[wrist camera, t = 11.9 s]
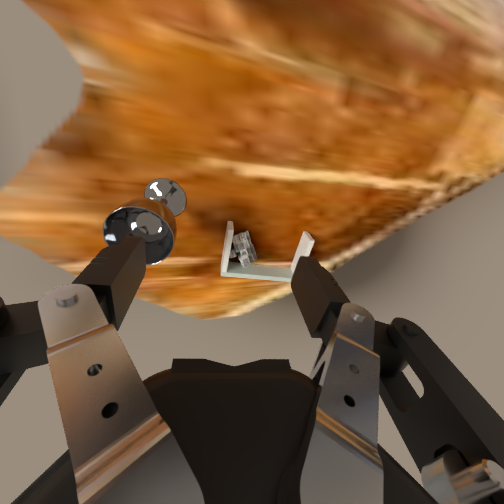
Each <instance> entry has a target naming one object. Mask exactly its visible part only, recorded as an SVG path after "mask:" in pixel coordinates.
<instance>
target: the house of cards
mask: <svg viewBox="0 0 504 504" xmlns="http://www.w3.org/2000/svg"><path fill="white" fill-rule="evenodd" d="M239 233H240V232H239ZM239 233H238V234H236V235H233V238H232V242H233V244H234V247H233V248H231V250H230V258H233V257H236V256H237V252H238V256H239V260H240V262H241V265H243V266H244V268H245V267H248V266H250V265H251V264H250V263H251V262H253V261H254V260H257V259H258V257H257V256H256V252H255V249H254V246H253V244H252V243H251V241H250V236H249V233H248V230H247V231H244V232H241V233H240V234H239ZM235 250H236V251H235Z"/></svg>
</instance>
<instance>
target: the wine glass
mask: <svg viewBox="0 0 504 504" xmlns="http://www.w3.org/2000/svg"><path fill="white" fill-rule="evenodd" d="M185 206H186V196H185V193H184V191H183V189H182V188H181V187H180V186H179V185H178V184H177V183H175V182H174V181H171V180H169V179H163V178H162V179H155V180H153V181H151V182H150V183H149V184H148V185H147V187H146V189H145V192H144V198H137V199H133V200H131V201H128V202H126V203H124V204H122V205H121V206H119V207H118V208H117V209H115V210H114V211H113V212H112V213H111V214H110V215H109V216H108V217H107V218H106V220H105V222H104V225H103V237H104V240H105V242H106V244H107V246H110V245H112V244H113V245H118V244H119V243H120V242H121V240H122V239H123V238H124V237H125V236H126V235H127V236H136V237H143V238H144V240H145V253H146V265H153V264H157V263H159V262H161V261H163V260H164V259H166V258H167V257H168V256H169V254H170V253H171V251H172V249H173V246H174V243H175V240H176V235H177V224H176V219H175V216H178V215H179V214H181V213H182V212H183V210H184V209H185Z"/></svg>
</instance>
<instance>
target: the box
mask: <svg viewBox="0 0 504 504" xmlns="http://www.w3.org/2000/svg"><path fill="white" fill-rule="evenodd" d="M233 233H234V227H233V221H228V222H227V229H226V235H225V241H224V248H223V254H222V260H221V276H228V277H239V278H251V279H263V280H274V281H286V282H291V279H292V276H293V273H294V270H295V268H296V265H297V262H298V260H299V258H300V256H308V257H309V254H310V252H311V249H312V247H313V244H314V242H315V241H314V239H313V238H312V237H311V235H310V234H309V233H308V232H305V231H303V234H302V237H301V240H300V243H299V245H298V248H297V251H296V254H295V257H294V259H293V262H292V265H291V268H287V267H277V266H267V265H257V264H251V265H250V266H248V267H245V268H244V266H243V265H241V263H237V262H228V261H229V255H230V250H231V244H232V238H233Z"/></svg>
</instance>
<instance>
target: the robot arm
mask: <svg viewBox="0 0 504 504" xmlns="http://www.w3.org/2000/svg"><path fill="white" fill-rule="evenodd" d="M145 271H146V253H145V240H144V238H143V237H136V236H127V235H126V236H125V237H124V238H123V239H122V240H121V242H120V243H119V244H118V245H113V244H112V245H110V246H108V247H106V248H104V249H102V250H101V251H100V252H99V253H98V254H97V256H96V258H94V259H93V260H92V261H91V262H90V264H89V265H88V266H87V267H86V268H85V269H84V270H83V271H82V272H81V273H80V275H79V276H78V277H77V278H76V279H75V280H74V281H73V282H72V284H67V285H63V286H59V287H56V288H54V289H52V290H50V291H48V292H47V293H45V294H44V295H43V296H42V297H41V298H40V299H39V301H34V302H27V303H19V304H12V305H5V304H4V301H3V299H2V298H1V297H0V406H1V405H2V403H3V402H4V400H5V399H6V397H7V396H8V395H9V393H10V392H11V390H12V389H13V387H14V386H15V385H16V383H17V382H18V380H19V379H20V377H21V376H22V374H23V373H24V372H25V370H26V369H28V368H31V367H35V366H40V365H44V364H48V363H49V366H50V370H51V374H52V379H53V383H54V388H55V392H56V397H57V401H58V405H59V410H60V414H61V418H62V422H63V427H64V431H65V435H66V440H67V444H68V448H69V449H68V450H67V451H66V452H65V453H64V454H63V455H62V456H61V457H60V458H59V459H58V460H56V461H55V462H54V463H53V464H52V465H51V466H50V467H49V468H48V469H47V470H46V471H45V472H44V473H43V474H42V475H41V476H40V477H39V478H37V479H36V480H35V481H34V482H33V483H32V484H31V485H30V486H29V487H28V488H27V489H26V490H25V491H24V492H23V493H22V494H21V495H20V496H19V497H18V498H16V499H15V500H14V501H13V502H12V503H11V504H504V420H503V419H502V418H501V417H500V416H499V415H498V414H497V413H496V411H495V410H494V409H493V408H492V407H491V406H490V405H489V404H488V403H487V401H486V400H485V399H484V398H483V397H482V396H481V395H480V393H479V392H478V391H477V390H476V389H475V388H474V387H473V386H472V384H471V383H470V382H469V381H468V380H467V379H466V378H465V377H464V376H463V374H462V373H461V372H460V371H459V370H458V369H457V368H456V366H454V364H453V363H452V362H451V361H450V360H449V359H448V357H447V356H446V355H445V354H444V353H443V352H442V351H441V350H440V349H439V347H438V346H437V345H436V344H435V343H434V342H433V341H432V340H431V338H430V337H429V336H428V335H427V334H426V333H425V332H424V331H423V330H422V329H421V328H420V327H419V326H418V325H416V324H415V323H413V322H411V321H409V320H407V319H404V318H395V319H393V321H392V322H391V323H390V325H389V324H385V323H382V322H379V321H376V320H374V318H373V316H372V314H371V313H370V312H369V311H368V310H366V309H365V308H363V307H362V306H360V305H357V304H355V303H351V302H350V301H349V299H348V298H347V296H346V295H345V293H344V292H343V291H342V289H341V288H340V287H339V286H338V283H337V282H336V281H335V279H334V278H333V276H332V275H331V273H330V272H328V271H327V270H326V269H325V268H324V267H321V265H320V264H319V262H318V261H317V259H316V258H315V257H308V256H300V258H299V260H298V262H297V265H296V268H295V270H294V273H293V276H292V279H291V289H292V291H293V294H294V296H295V298H296V301H297V303H298V306H299V308H300V311H301V313H302V315H303V318H304V320H305V323H306V325H307V327H308V330H309V332H310V335H311V337H312V338H321V339H322V343H321V345H320V347H319V350H318V353H317V356H316V359H315V361H314V364H313V367H312V370H311V373H310V376H309V377H308V376H306V375H304V374H302V373H300V372H298V371H296V370H293V369H291V367H290V363H289V360H288V359H286V360H285V359H282V360H281V359H262V360H258V361H254V362H250V363H246V364H243V365H239V366H230V365H226V364H222V363H218V362H214V361H211V360H207V359H173V362H172V368H171V369H168V370H164V371H162V372H159V373H157V374H154V375H152V376H150V377H148V378H147V379H145V380H144V381H142V380H141V378H140V376H139V374H138V372H137V370H136V368H135V366H134V364H133V362H132V360H131V358H130V356H129V354H128V352H127V350H126V348H125V346H124V344H123V342H122V340H121V338H120V336H119V335H118V333H117V331H118V330H119V328H120V325H121V323H122V321H123V319H124V317H125V315H126V313H127V311H128V309H129V307H130V304H131V303H132V300H133V298H134V296H135V294H136V292H137V290H138V288H139V286H140V284H141V282H142V280H143V278H144V275H145ZM408 364H409V365H410V367H411V368H412V369H413V371H414V372H415V374H416V375H417V376H418V378H419V379H420V381H421V382H422V384H423V387H424V395H423V396H422V397H421V398H419V396H418V395H417V393H416V392H415V390H414V389H413V387H412V386H411V384H410V383H409V381H408V380H407V378H406V377H405V375H404V374H403V372H402V370H404V369H405V367H406V366H407V365H408ZM379 394H380V396H381V398H382V400H383V402H384V404H385V406H386V408H387V409H388V412H389V414H390V415H391V417H392V419H393V421H394V423H395V425H396V427H397V429H398V431H399V433H400V435H401V436H402V439H403V440H404V442H405V444H406V446H407V448H408V450H409V452H410V454H411V456H412V458H413V459H414V461H415V463H416V465H417V467H418V469H419V471H420V473H421V478H422V483H423V486H424V488H423V487H422V486H421V485H420V484H419V483H418V482H417V481H416V480H415V479H414V478H413V477H412V476H411V475H410V474H409V473H408V472H407V471H406V470H405V469H404V468H402V467H401V466H400V465H399V463H398V462H397V461H396V460H394V458H393V457H391V456H390V455H389V454H388V453H387V452H386V451H385V450H384V449H383V448H382V447H381V446H380V445H379V444H378V443H377V441H378V438H377V437H378V410H379Z"/></svg>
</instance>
